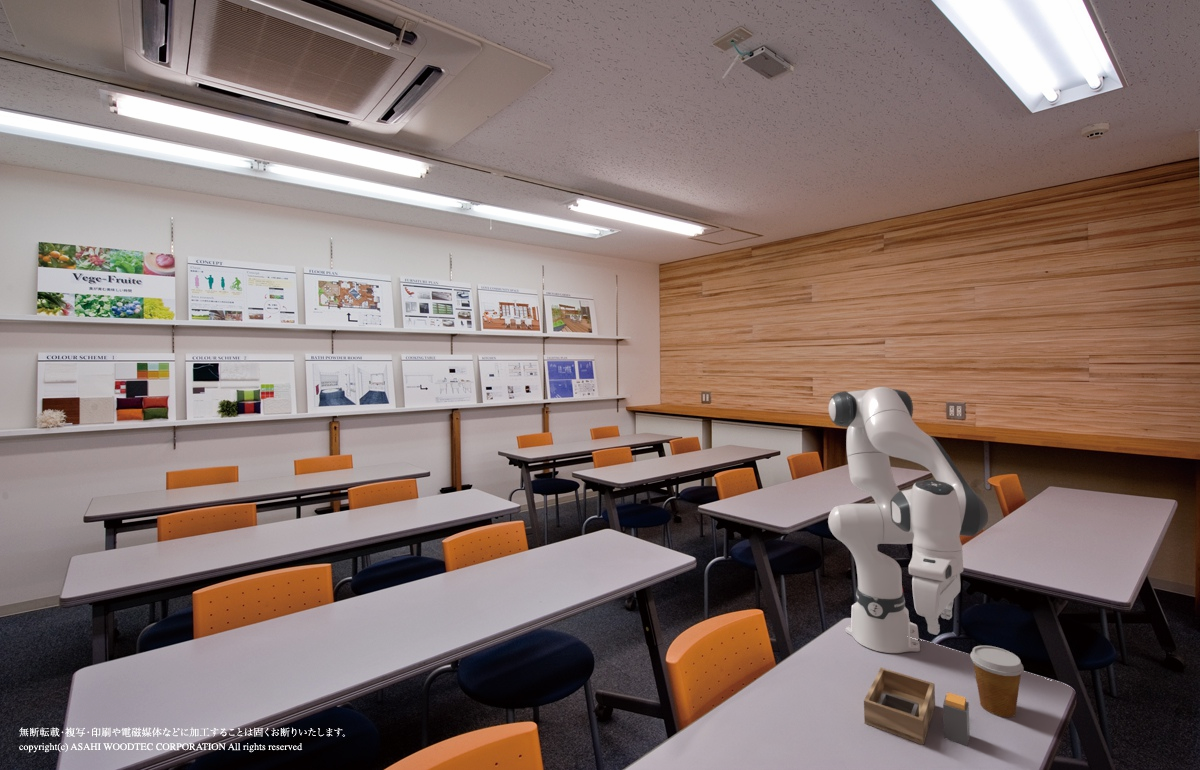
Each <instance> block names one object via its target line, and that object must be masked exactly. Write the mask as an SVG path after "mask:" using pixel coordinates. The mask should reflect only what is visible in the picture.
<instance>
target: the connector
mask: <svg viewBox="0 0 1200 770" xmlns="http://www.w3.org/2000/svg"><path fill="white" fill-rule="evenodd" d="M969 706H970V704H969V701H967V698H966V697H965V696H962V695H957V694H954V693H951V692H947V693H946V694H945V697H944V699H943V704H942V709H943V710H942V712H943V716H942V717H943V737H944V739H947V740H949V741H952V742H955V743H957V744H960V745H962V746H963V745H964V746H966V747H968V746H969V740H970V707H969Z"/></svg>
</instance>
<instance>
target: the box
mask: <svg viewBox="0 0 1200 770" xmlns="http://www.w3.org/2000/svg"><path fill="white" fill-rule="evenodd" d="M935 692H936V689H935V683H934V682H930V681H926V680H924V679H920V678H918V677H914V676H910V675H907V674H904V673H900V672H897V671H894V670H890V669H887V668H884V667H880V669H879V670H878V673H877V674H876V676H875V678H874V680H873V682H872V684H871V686H870V688H869V690H868V692H867V694H866V695H865V698H864V699H863V709H864V710H863V713H864V714H863V715H864V717H863V718H864V724H865V725H868V726H871V727H873V728H876V729H880V730H882V731H884V732H887V733H889V734H892V735H895V736H898V737H900V738H903V739H905V740H909V741H912V742H914V743H916V744H919V745H923V746H924V743H925V742H926V741H925V740H926V736H927V734H928V730H929V728H930V723H931V720H932V717H933V714H934V710H935V707H936V696H935V695H936V693H935Z"/></svg>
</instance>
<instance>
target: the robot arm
mask: <svg viewBox="0 0 1200 770" xmlns="http://www.w3.org/2000/svg"><path fill="white" fill-rule="evenodd" d="M913 404H914V403H913V401H912V398H911V396H910V394H909V393H908V392H906V391H904V390H899V389H892V388H890V387H886V386H878V387H873V388H871V389H870V388H869V389H861V390H853V391H852V390H851V391H846V390H844V391H840V392H836V393H834V394H833V395H832V396H831V397H830V400H829V402H828V415H829V417H830V421H831V422H832V423H833V424H834V425H835V426H837V427H842V428H847V429H846V440H845V441H846V443H845V444H846V459H847V466H848V473H849V480H850V482H851V484H852V485H853V486H854V487H855V488H857V489H858V490H860V491H862V492H864V493H866V494H869V496H870V497H871V498H872V499H873V501H874V503H846V504H840V505H836V506H834V507H833V508H831V510H830V513H829V514H828V517H827V518H828V520H827V523H828V529H829V531H830V532H831V533H832V535H833V536H834V537H835V538H836V539H837V541H839V542H842V544H843V545H845V547H846V548H847V549H848V550H849V551H850V553H851V555H852V556H853V559H854V562H855V566H856V574H857V587H856V592H855V596H856V602H855V603H853V604H852V605H851V611H850V612H851V615H850V616H851V618H850V620H851V621H850V624H849V625H847V626H846V627H845V632H846V633H847V634H849V636H851V637H853V639H854V640H855V641H856V642H857V643H859V644H860V645H861V646H863V647H865V648H867V649H870V650H873V651H877V652H881V653H886V654H887V653H888V654H901V653H907V652H920V651H921V647H920V646H921V645H920V637H919V627H918V625H917V624H916V623H913V622H911V621H910V620H911V619H910V617H909V616H910V615H909V612H910V611H909V609H908V608H907V607H906V600H905V599H906V598H905V595H904V588H903V585H902V584H903V583H902V577H903V576H902V567H901V566H900V564H899V563H898V562H897V560H895V559H894V558H892V557H891V556H888V555H887V554H885V553H882V552H880V551H879V550H878V545H880V544H881V545H882V544H887V545H888V544H889V545H907V544H912V555H911V559H910V562H909V564H908V574H909V575H910V576H912V579H911V585H912V589H911V590H912V597H913V606H914V609H915V613H916V614H917V615H918V616H921V617H924V618H925V622H926V624H927V632H928V633H929V634H931V635H936V636H937V635H939V633H940V631H941V629H940V626H941V624H940V623H939V618H940V617H941V618H942V619H943V620H945V619H946V620H948V621H949V620H950V619H952V617H953V605H954V599H955V598H956V597H957V596H958V595H959V593H961V573H963V572H964V558H963V544H962V542H961V538H960V536H962V537H963V536H965V537H975V536H976V535H977V534H979V533H980V532H982V530H984V529H985V527H986V526H987V524H988V522H989V514H988V513H989V512H988V510H987V506H986V504H985V503H984V501H983V500H982V498H981V497H980V496H979V495H978V494H977V493H976V492H975V491H974V490H973V488H972V487H971V486H970V485H969V484H968V482H967V480H965V478H964V476H963V475H962V474H961V472H960V470H959V469H958V468H957V466H956V464H955V463H954V462H953V460H952V459H951V457H950V455H949V454H948V453H947V451H946V450H945V449H944V447H943V446H942V445H941V443H940V442H939V441H938V440H937V439H936V438H935V437H933V436H931V435H929V434H927V433H926V432H925V431H923V430H922V429H921V428H920V427H919V426H918V425H917V424H916V423H915V422H914V420H913V419H912V417H913V414H914V405H913ZM890 457H893V458H897V459H901V460H905V461H909V462H912V463H916V464H918V465H921V466H922V467H924V468H926V469H927V470H928V471H929V472H930V473H931V474H932V476H933V478H934V479H935V480H934V479H932V480H931V479H925V480H919V481H916V482H915V483H913V485H912V487H911V488H909V489H905V490H900V489H899V487H898V485H897V484H896V481H895V478H894V474H893V472H892V467H891V461H890ZM907 636H908V637H907ZM910 637H912V638H916V639H919V641H918V640H915V639H912V638H910Z"/></svg>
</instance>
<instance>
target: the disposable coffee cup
mask: <svg viewBox="0 0 1200 770" xmlns="http://www.w3.org/2000/svg"><path fill="white" fill-rule="evenodd" d="M969 657H970V660H971V662H972V663H973V668H974V669H973V670H974V673H975V681H976V686H977V692H978V698H979V702H980V703H979V704H980V706H981V708H983V709H984V710H986V711H987V712H988V713H990V714H993V715H995V716H998V717H1002V718H1003V717H1004V718H1012V717H1014V716H1016V714H1017V713H1016V711H1017V706H1018V705H1017V704H1018V697H1019V689H1020V682H1021V675H1022V673H1023V671H1024V665H1023V664H1022V662H1021V659H1020V657H1019V656H1018V655H1016V654H1015V653H1013V652H1012V651H1011V652H1010V650H1006V649H1004V648H1000V647H998V646H997V647H996V646H992V645H977V646H974V647H973V648H972V651H971V652H970V656H969Z"/></svg>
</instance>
